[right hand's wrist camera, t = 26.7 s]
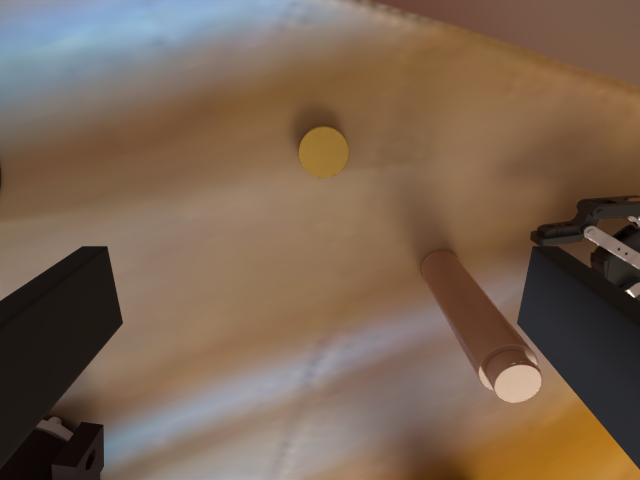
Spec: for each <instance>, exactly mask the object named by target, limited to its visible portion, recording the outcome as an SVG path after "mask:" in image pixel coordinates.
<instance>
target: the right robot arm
mask: <svg viewBox="0 0 640 480" xmlns="http://www.w3.org/2000/svg"><path fill="white" fill-rule="evenodd" d="M0 186H1V169H0ZM122 324H123V321H122V316H121V312H120V307H119V302H118V297H117V292H116V287H115V282H114V277H113V272H112V267H111V263H110V258H109V253H108V248H107V246H82V247H81V248H79V249H78V250H76V251H75V252H73V253H72V254H70V255H69V256H67V257H66V258H64V259H63V260H61V261H60V262H58V263H57V264H55V265H54V266H52V267H51V268H49V269H48V270H46V271H45V272H43V273H42V274H40V275H39V276H37V277H36V278H34V279H33V280H31V281H30V282H28V283H27V284H25V285H24V286H22V287H21V288H19V289H18V290H16V291H15V292H13V293H12V294H10V295H9V296H7V297H5V298H4V299H2V300H1V301H0V469H1V468H2V467H3V466H4V464H5V463H6V462H7V461H8V460H9V458H10V457H11V456H12V455H13V454H14V453H15V451H16V450H17V449H18V448H19V447H20V445H21V444H22V443H23V442H24V441H25V439H26V438H27V437H28V436H29V435H30V433H31V432H32V431H33V430H34V429H35V427H36V426H37V425H38V424H39V423H40V422H41V420H42V419H43V418H44V417H45V416H46V414H47V413H48V412H49V411H50V410H51V408H52V407H53V406H54V405H55V404H56V402H57V401H58V400H59V399H60V398H61V397H62V395H63V394H64V393H65V392H66V391H67V389H68V388H69V387H70V386H71V385H72V383H73V382H74V381H75V380H76V379H77V377H78V376H79V375H80V374H81V373H82V371H83V370H84V369H85V368H86V367H87V366H88V364H89V363H90V362H91V361H92V360H93V358H94V357H95V356H96V355H97V354H98V352H99V351H100V350H101V349H102V348H103V346H104V345H105V344H106V343H107V342H108V340H109V339H110V338H111V337H112V336H113V335H114V333H115V332H116V331H117V330H118V329H119V327H120V326H121V325H122ZM517 324H518V325H519V326H520V327H521V329H522V330H523V331H524V332H525V333H526V335H527V336H528V337H529V338H530V339H531V340H532V342H533V343H534V344H535V345H536V346H537V348H538V349H539V350H540V351H541V352H542V354H543V355H544V356H545V357H546V358H547V360H548V361H549V362H550V363H551V364H552V366H553V367H554V368H555V369H556V370H557V371H558V373H559V374H560V375H561V376H562V377H563V379H564V380H565V381H566V382H567V383H568V385H569V386H570V387H571V388H572V389H573V391H574V392H575V393H576V394H577V395H578V397H579V398H580V399H581V400H582V401H583V402H584V404H585V405H586V406H587V407H588V408H589V410H590V411H591V412H592V413H593V414H594V416H595V417H596V418H597V419H598V420H599V422H600V423H601V424H602V425H603V426H604V427H605V429H606V430H607V431H608V432H609V433H610V435H611V436H612V437H613V438H614V439H615V441H616V442H617V443H618V444H619V445H620V447H621V448H622V449H623V450H624V451H625V453H626V454H627V455H628V456H629V457H630V458H631V460H632V461H633V462H634V463H635V464H636V466H637V467H638V468H639V469H640V301H639V300H638V299H636V298H635V297H633V296H631V295H630V294H628V293H627V292H625V291H624V290H622V289H621V288H619V287H618V286H616V285H615V284H613V283H612V282H610V281H609V280H607V279H606V278H604V277H603V276H601V275H600V274H598V273H597V272H595V271H594V270H592V269H591V268H589V267H588V266H586V265H585V264H583V263H582V262H580V261H579V260H577V259H576V258H574V257H573V256H571V255H570V254H568V253H567V252H565V251H564V250H562V249H561V248H559V247H558V246H533V248H532V253H531V258H530V263H529V267H528V272H527V277H526V282H525V287H524V292H523V297H522V302H521V307H520V312H519V316H518V321H517Z"/></svg>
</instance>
